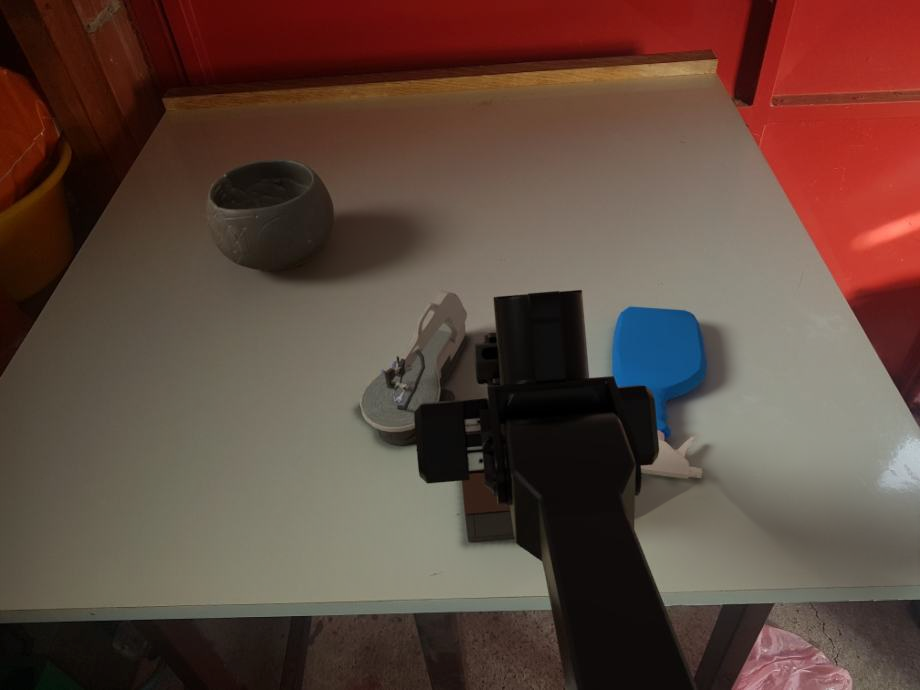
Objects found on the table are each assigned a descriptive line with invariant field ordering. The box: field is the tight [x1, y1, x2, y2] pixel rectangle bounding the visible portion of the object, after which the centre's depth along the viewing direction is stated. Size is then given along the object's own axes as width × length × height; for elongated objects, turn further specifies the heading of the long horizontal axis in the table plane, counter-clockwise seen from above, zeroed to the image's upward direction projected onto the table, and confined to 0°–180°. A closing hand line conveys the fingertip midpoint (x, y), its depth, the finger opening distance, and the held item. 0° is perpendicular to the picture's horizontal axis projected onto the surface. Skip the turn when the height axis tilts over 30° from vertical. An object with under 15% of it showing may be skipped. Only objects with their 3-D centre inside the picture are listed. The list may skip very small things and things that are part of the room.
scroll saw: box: [358, 290, 468, 447], centre depth 80 cm, size 20×11×12 cm
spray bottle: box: [611, 305, 707, 479], centre depth 80 cm, size 3×11×24 cm
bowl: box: [205, 158, 335, 272], centre depth 102 cm, size 18×18×13 cm
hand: (526, 423), depth 63 cm, fingers closed on lid, 5 cm apart
